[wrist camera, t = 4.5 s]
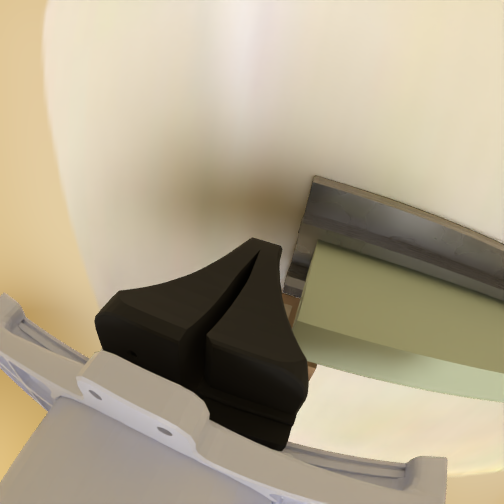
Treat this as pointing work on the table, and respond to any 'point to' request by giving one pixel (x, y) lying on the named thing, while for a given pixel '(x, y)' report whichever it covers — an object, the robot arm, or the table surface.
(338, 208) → the track
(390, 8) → the table surface
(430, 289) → the pale green long bar
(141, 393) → the robot arm
